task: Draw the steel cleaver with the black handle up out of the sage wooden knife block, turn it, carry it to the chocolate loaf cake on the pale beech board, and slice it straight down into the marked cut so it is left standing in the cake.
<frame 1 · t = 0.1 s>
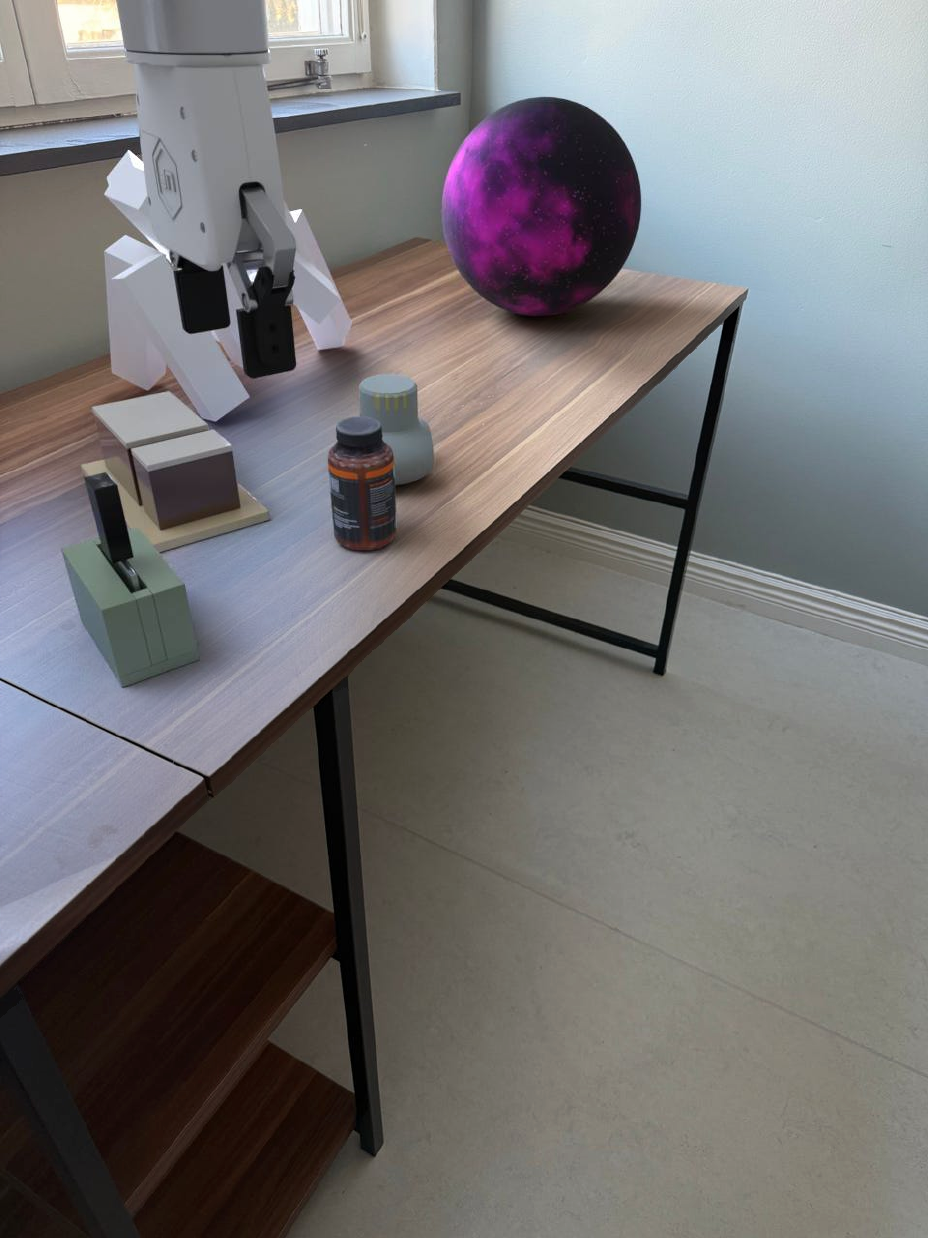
hand: (237, 350, 57), 23 cm above the table, tool pointing down, fingers open, 9 cm apart
supplement bottle: (365, 539, 84), on the table
cake: (172, 495, 90), on the table
air freshener: (391, 475, 95), on the table
knife: (136, 630, 69), point 1 cm above the table, touching knife block
pile of blocks: (237, 379, 117), on the table
knife block: (139, 640, 70), on the table
purple galaxy ball: (533, 313, 143), on the table
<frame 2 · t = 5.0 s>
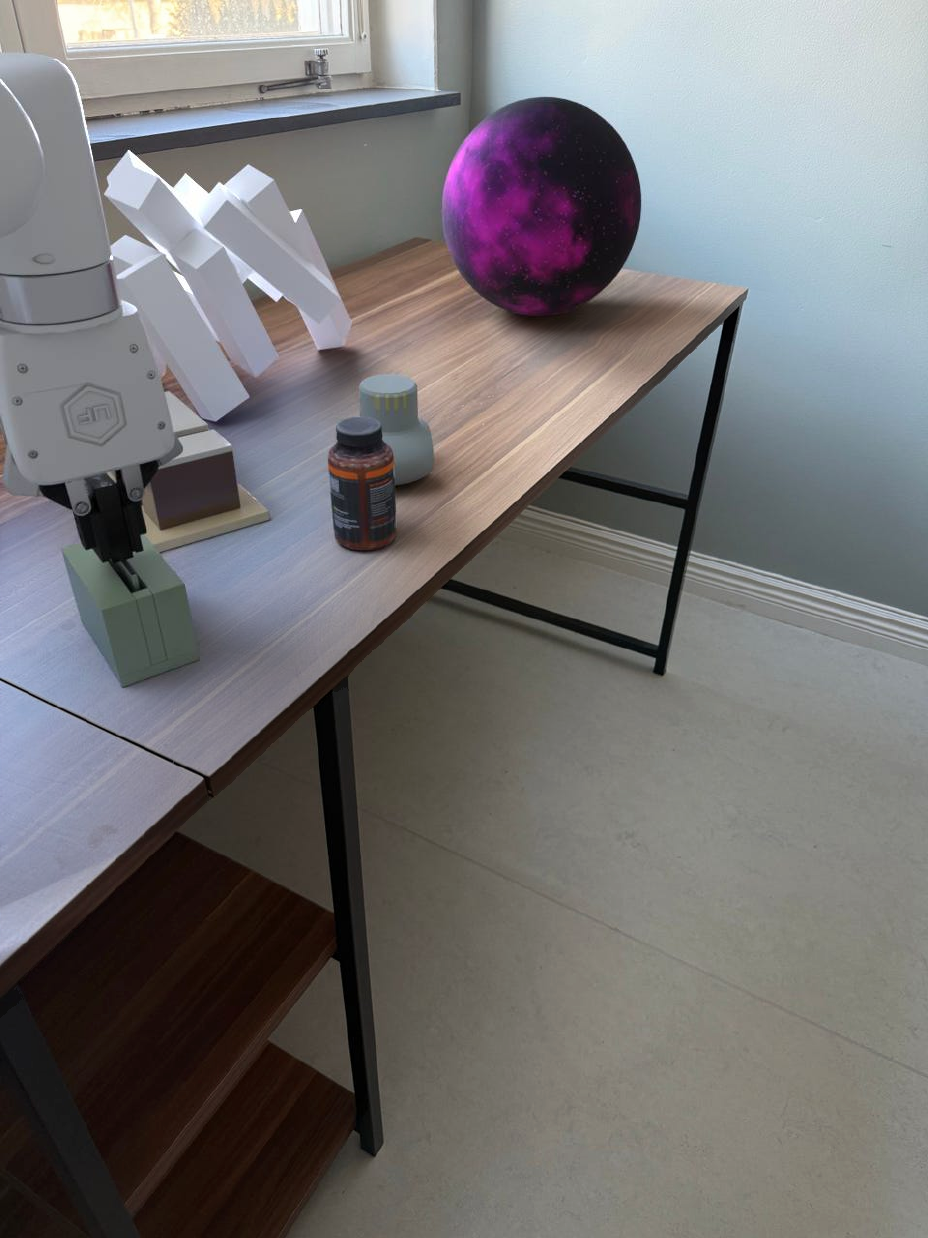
hand: (116, 547, 65), 9 cm above the table, tool pointing down, fingers closed on knife, 1 cm apart
knife: (136, 630, 69), point 1 cm above the table, touching gripper, knife block
everything else where it was.
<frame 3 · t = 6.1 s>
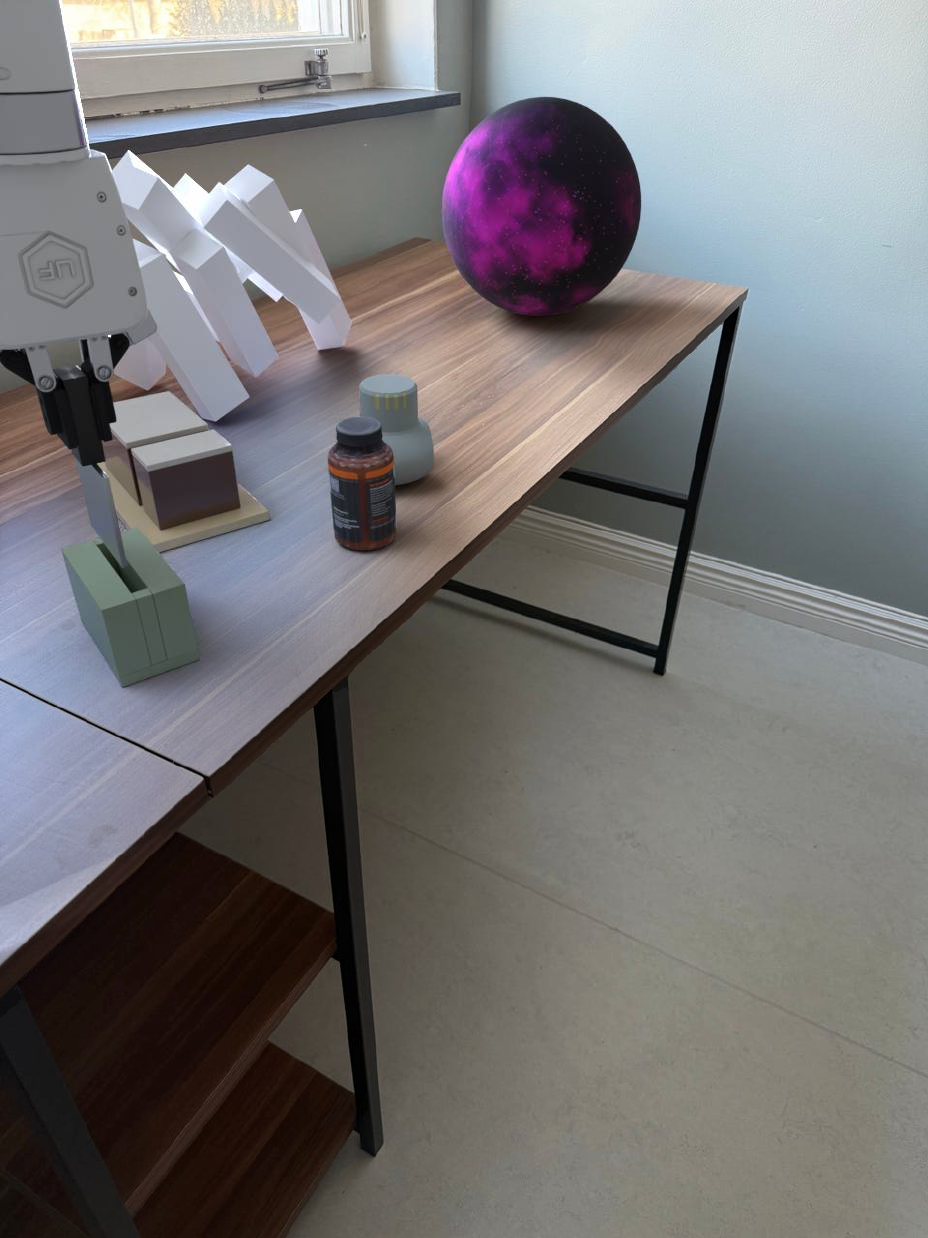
hand: (84, 436, 59), 17 cm above the table, tool pointing down, fingers closed on knife, 1 cm apart
knife: (109, 546, 65), point 9 cm above the table, touching gripper
everything else where it was.
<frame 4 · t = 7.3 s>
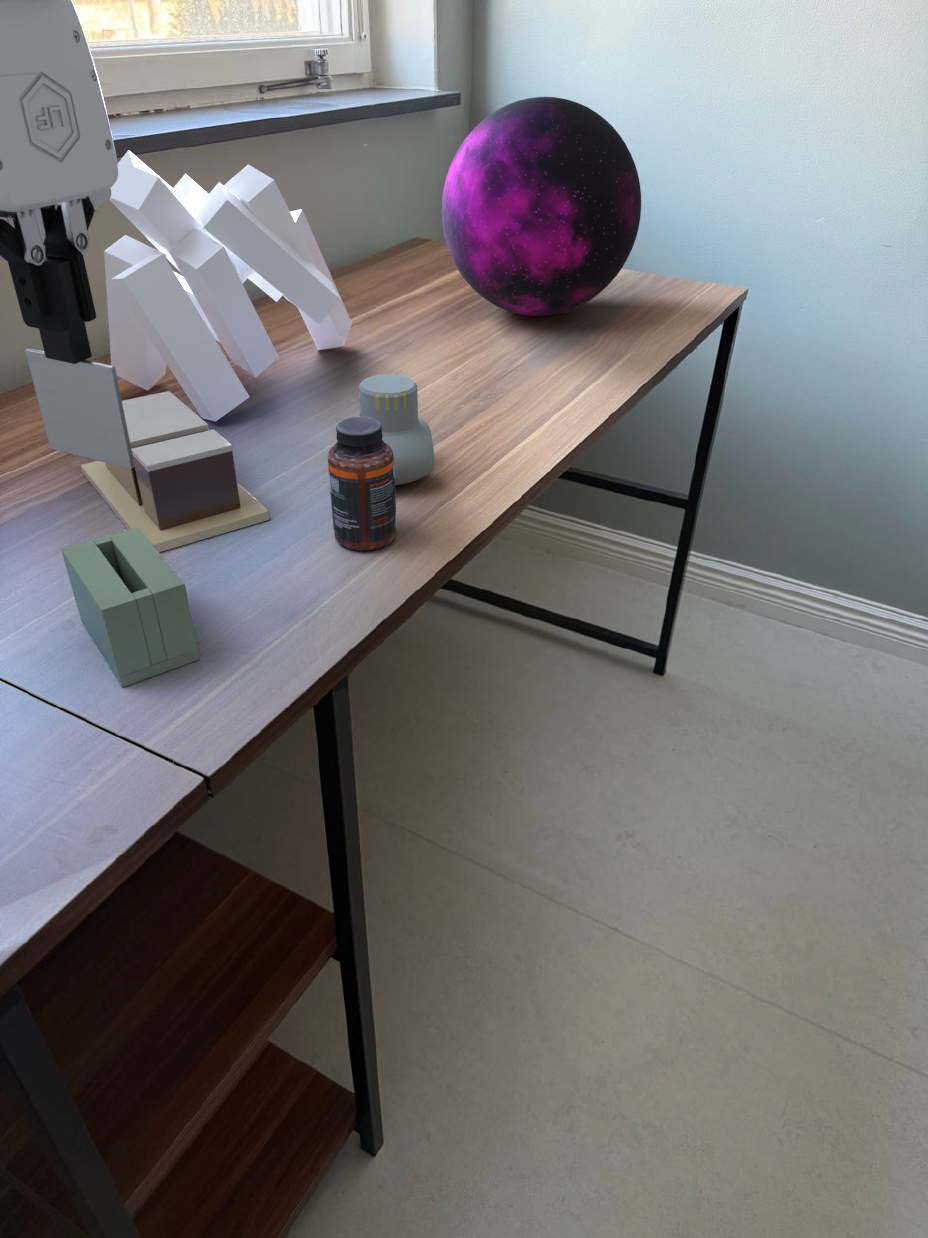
hand: (60, 321, 55), 25 cm above the table, tool pointing down, fingers closed on knife, 1 cm apart
knife: (92, 457, 61), point 16 cm above the table, touching gripper
everything else where it was.
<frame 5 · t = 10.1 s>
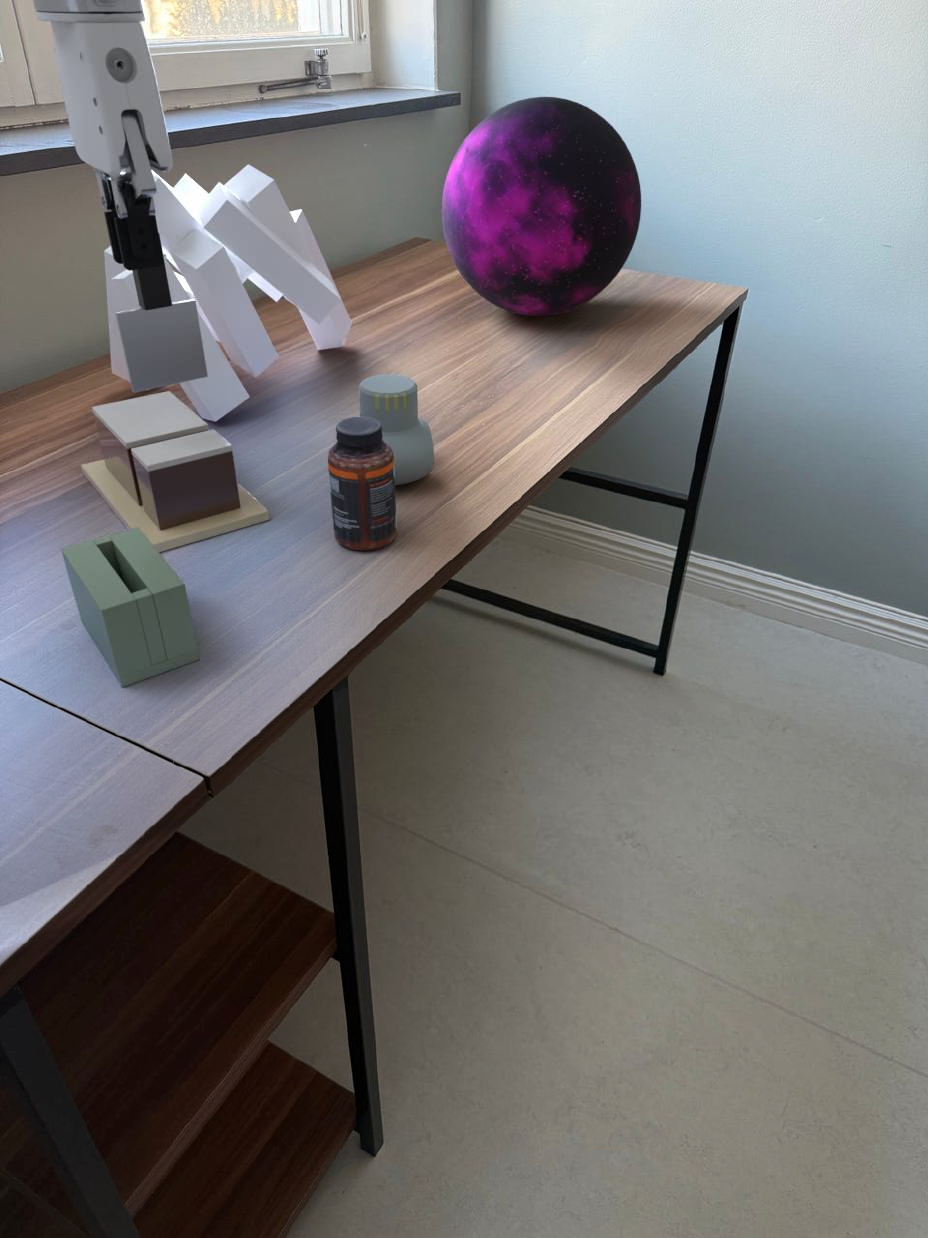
hand: (138, 262, 74), 23 cm above the table, tool pointing down, fingers closed on knife
knife: (170, 383, 81), point 12 cm above the table, touching gripper
everything else where it was.
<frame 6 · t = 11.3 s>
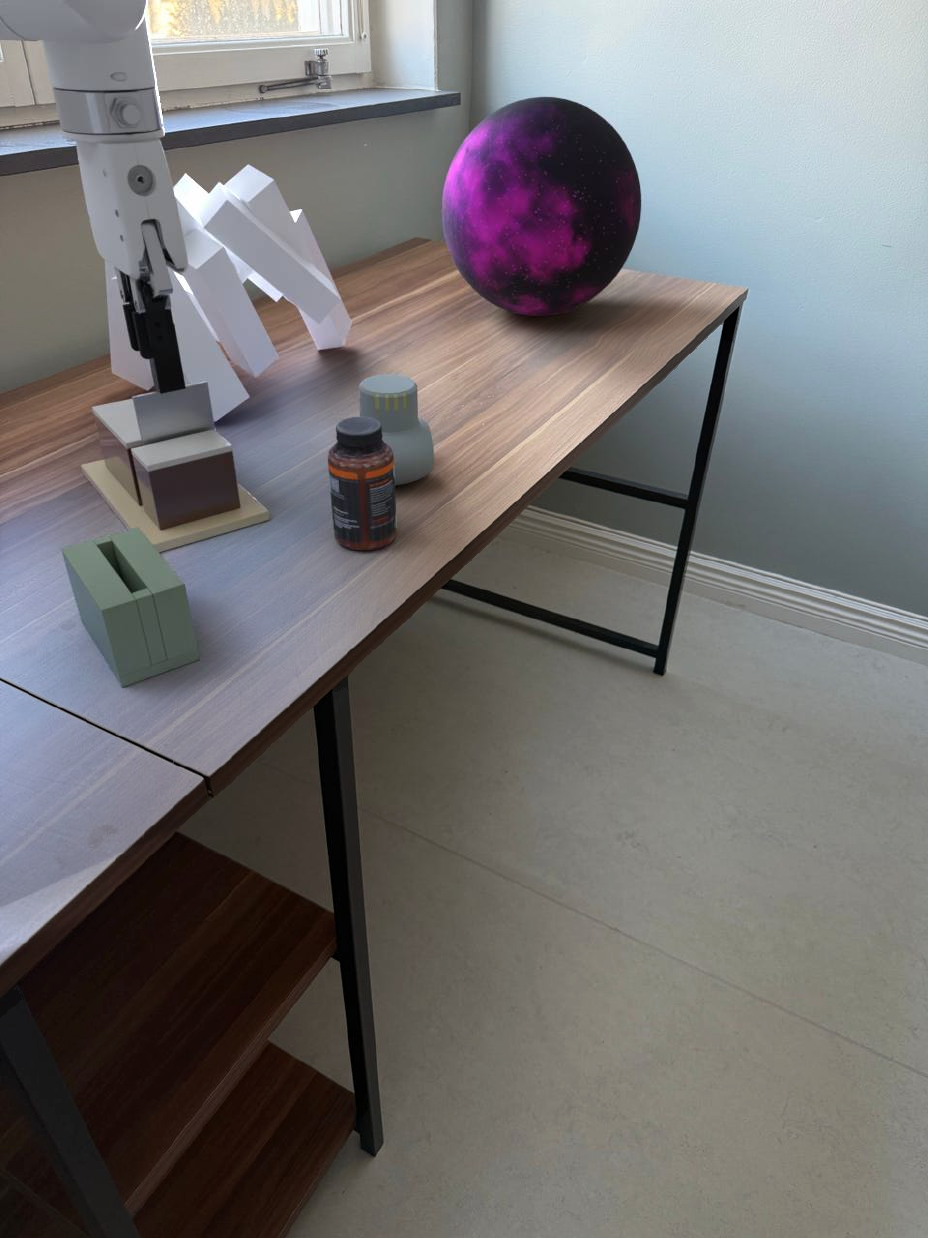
hand: (154, 350, 79), 16 cm above the table, tool pointing down, fingers closed on knife
knife: (183, 458, 85), point 5 cm above the table, touching gripper
everything else where it was.
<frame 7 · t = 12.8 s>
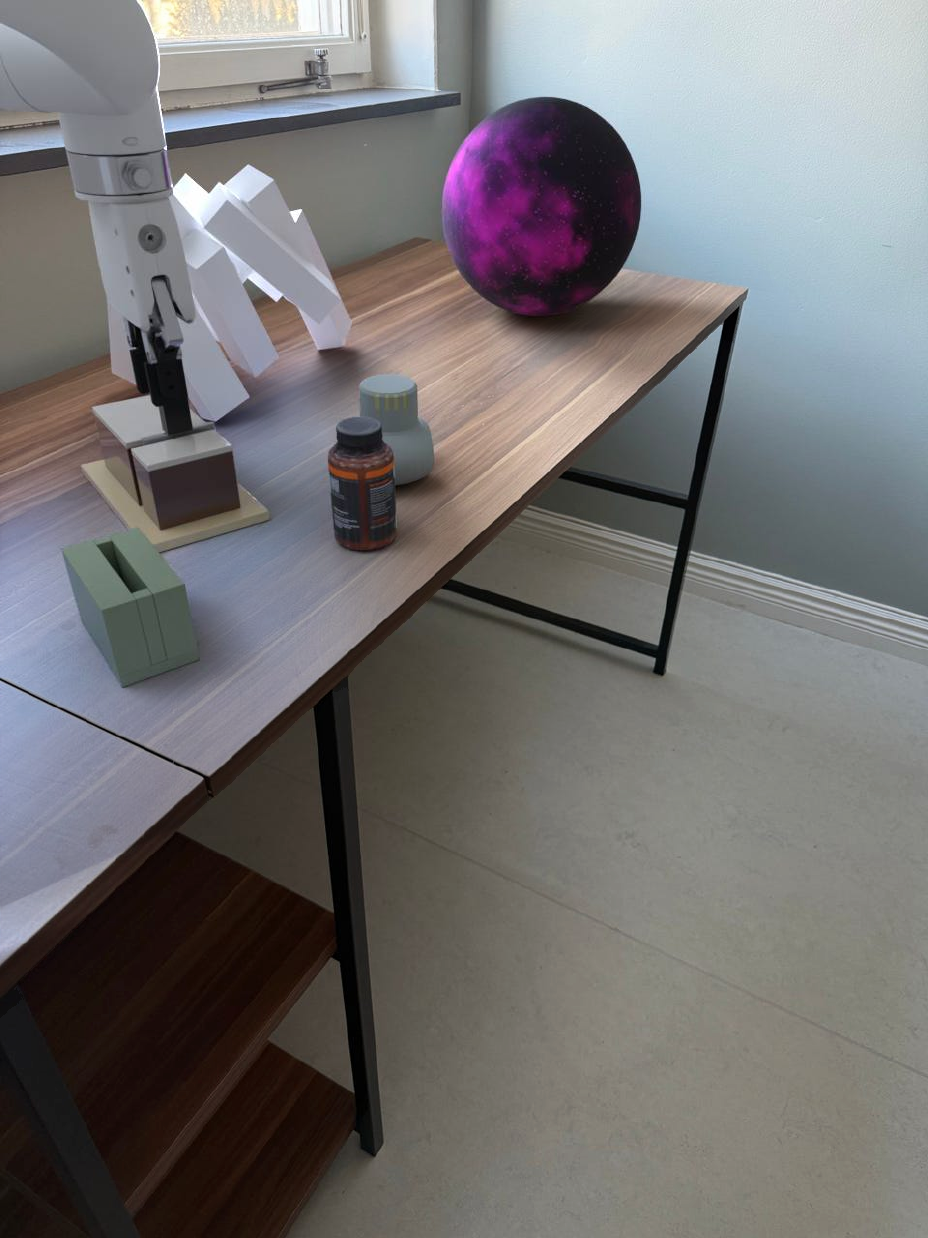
hand: (162, 394, 81), 12 cm above the table, tool pointing down, fingers open, 3 cm apart
knife: (190, 496, 87), point 1 cm above the table, touching cake
everything else where it was.
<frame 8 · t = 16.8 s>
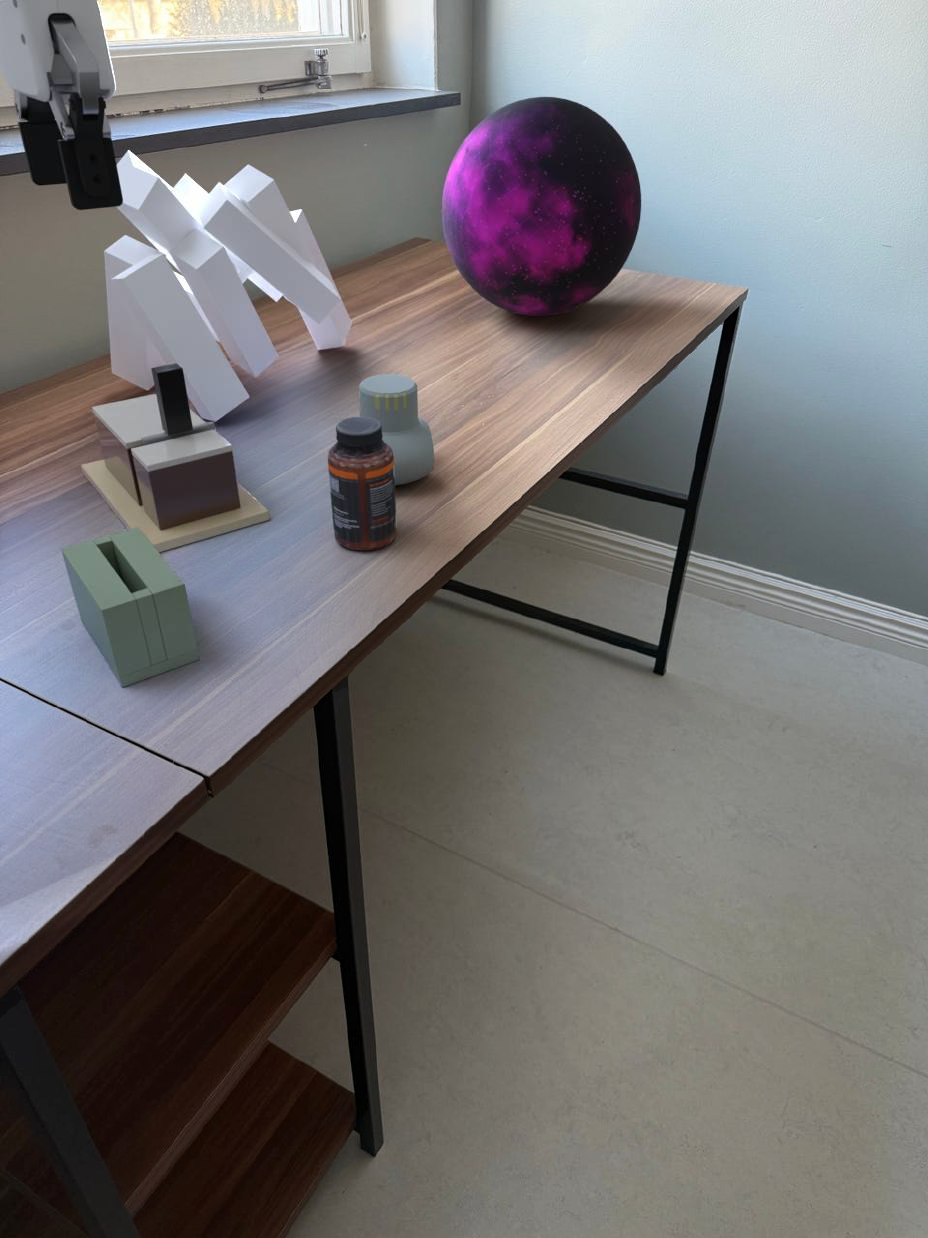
hand: (76, 194, 61), 30 cm above the table, tool pointing down, fingers open, 9 cm apart
nothing on the table moved.
at the end: knife 0.8 cm from the target spot on the cake, point 1.0 cm above the cake's base; knife tilted 0°; the gripper is holding nothing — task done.
